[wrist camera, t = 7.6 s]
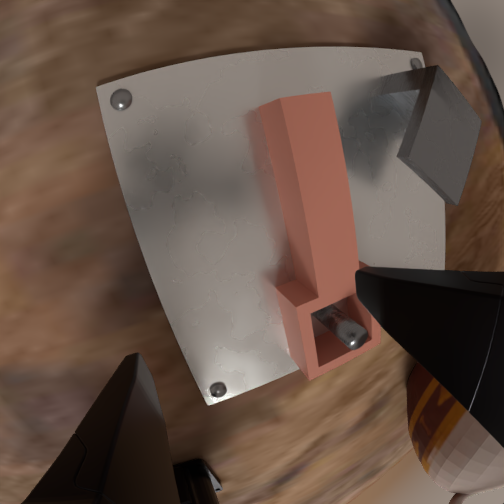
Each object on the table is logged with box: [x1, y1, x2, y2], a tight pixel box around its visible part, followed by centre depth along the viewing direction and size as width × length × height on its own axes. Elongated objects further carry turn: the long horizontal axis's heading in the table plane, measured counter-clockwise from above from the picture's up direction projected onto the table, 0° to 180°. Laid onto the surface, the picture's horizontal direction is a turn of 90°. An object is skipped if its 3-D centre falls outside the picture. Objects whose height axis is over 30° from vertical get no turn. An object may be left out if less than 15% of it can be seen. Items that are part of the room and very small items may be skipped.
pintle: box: [313, 304, 368, 350], centre depth 20 cm, size 2×2×4 cm
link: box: [259, 92, 381, 381], centre depth 19 cm, size 17×6×3 cm, turn 14°
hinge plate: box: [96, 47, 445, 406], centre depth 20 cm, size 22×24×1 cm
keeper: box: [379, 65, 482, 206], centre depth 18 cm, size 7×6×5 cm
